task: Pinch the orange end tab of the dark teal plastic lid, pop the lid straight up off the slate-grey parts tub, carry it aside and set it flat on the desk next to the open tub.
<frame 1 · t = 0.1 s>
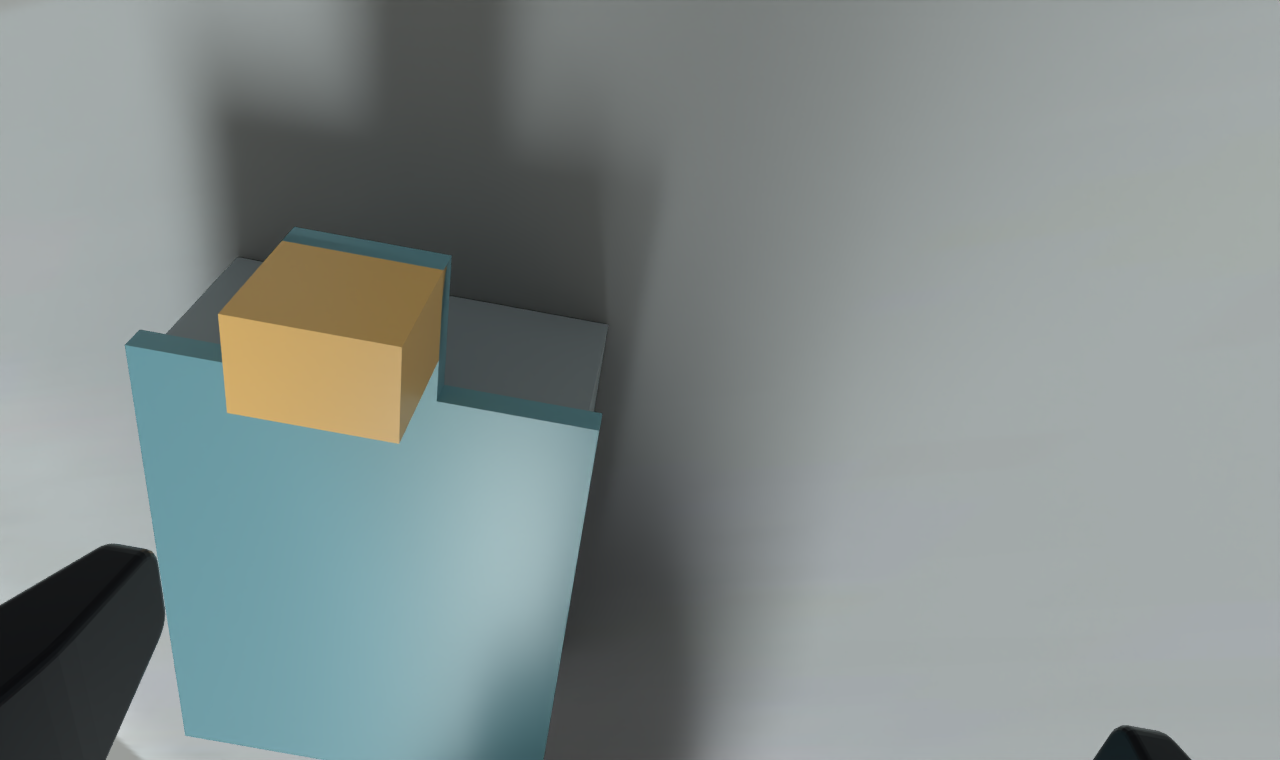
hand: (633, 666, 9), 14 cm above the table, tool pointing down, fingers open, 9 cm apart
tub: (415, 481, 27), on the table
lid: (369, 586, 24), point 4 cm above the table, touching tub
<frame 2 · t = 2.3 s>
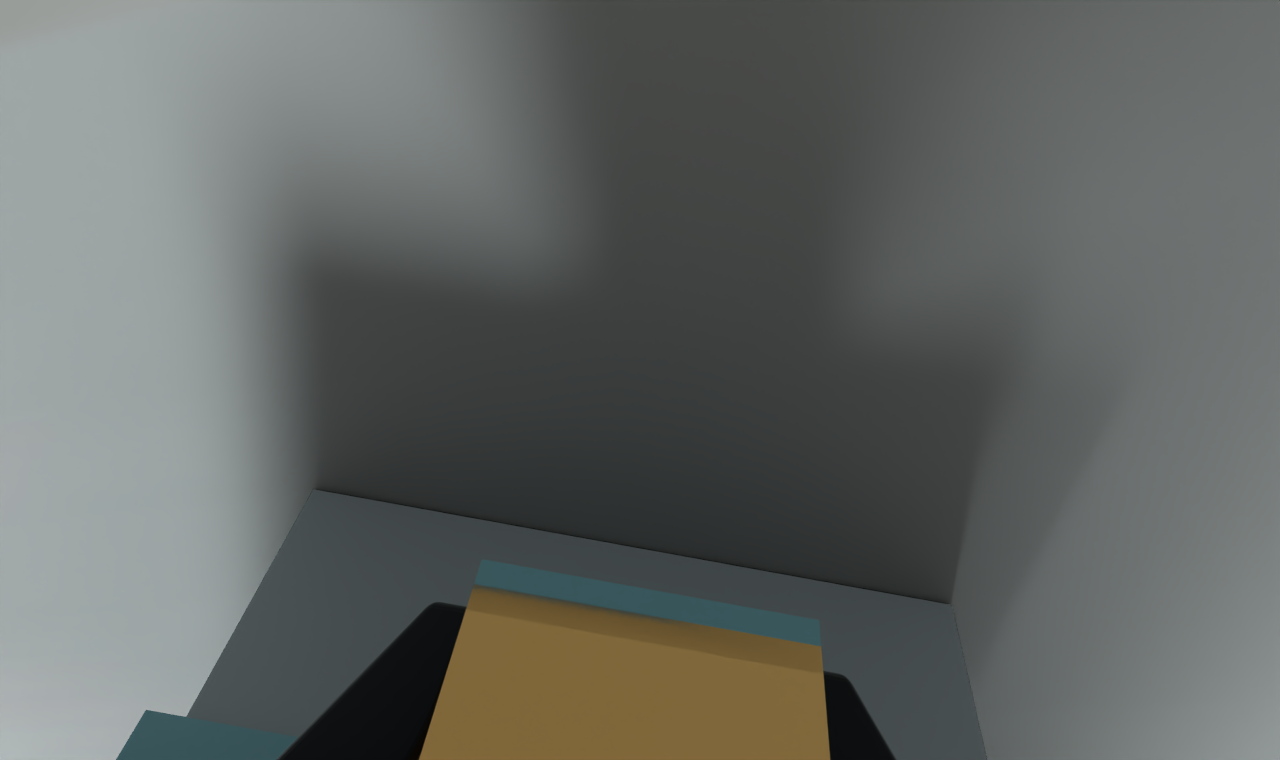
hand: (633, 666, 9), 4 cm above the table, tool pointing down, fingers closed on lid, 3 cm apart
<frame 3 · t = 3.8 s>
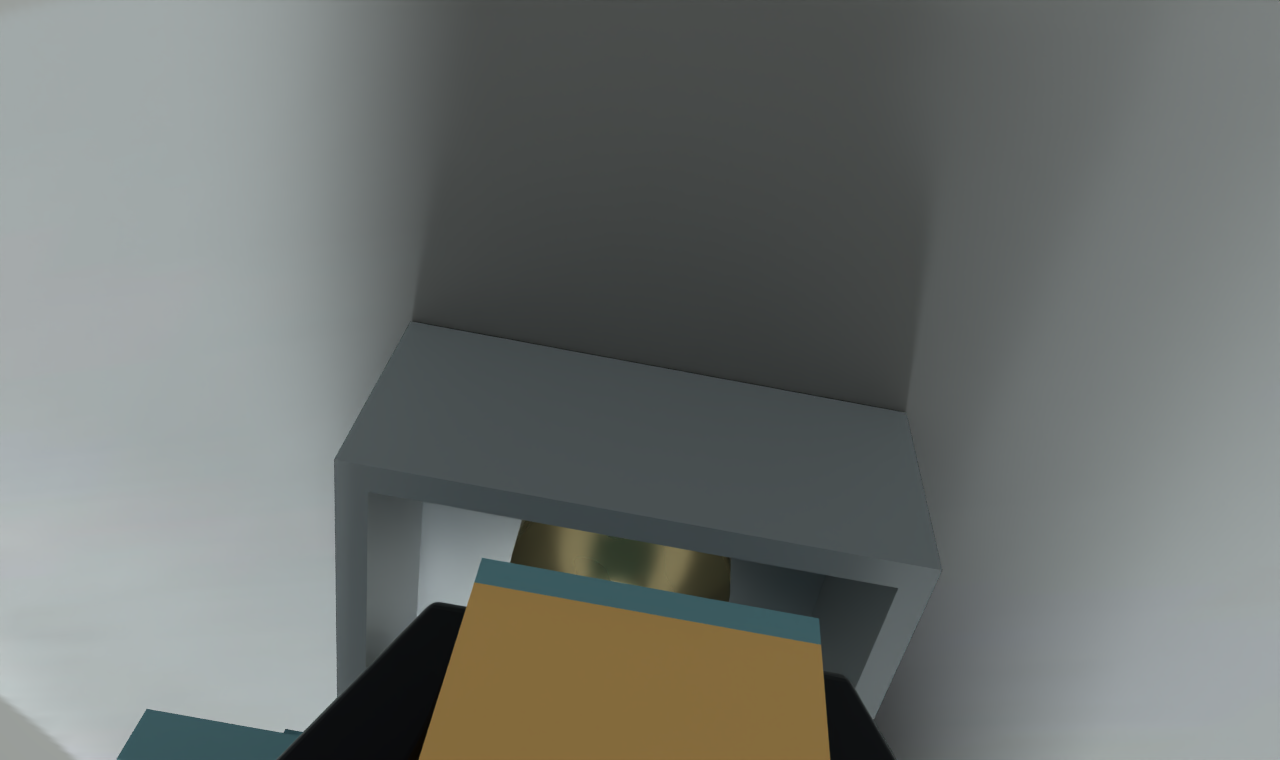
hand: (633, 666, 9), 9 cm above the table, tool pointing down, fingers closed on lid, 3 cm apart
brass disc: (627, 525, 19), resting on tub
tub: (611, 600, 21), on the table
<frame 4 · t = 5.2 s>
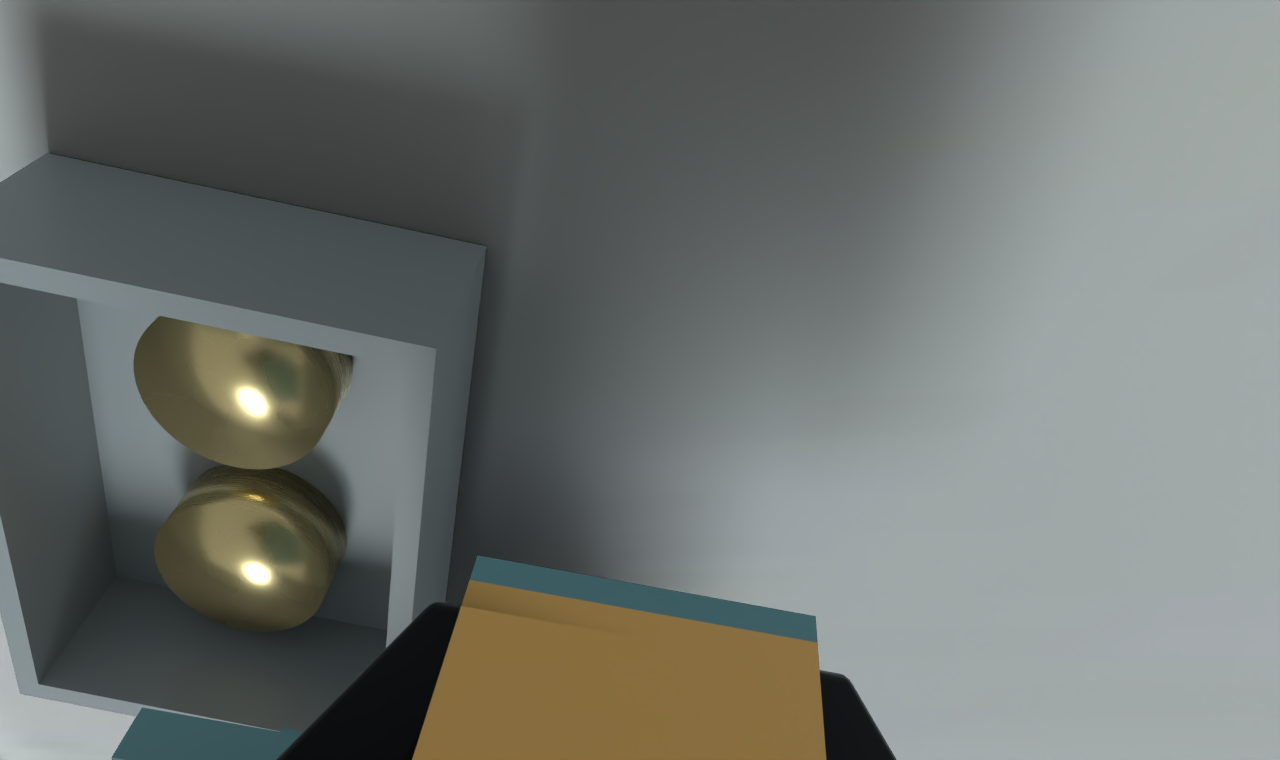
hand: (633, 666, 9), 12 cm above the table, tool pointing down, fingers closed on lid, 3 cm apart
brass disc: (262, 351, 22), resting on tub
tub: (272, 431, 24), on the table
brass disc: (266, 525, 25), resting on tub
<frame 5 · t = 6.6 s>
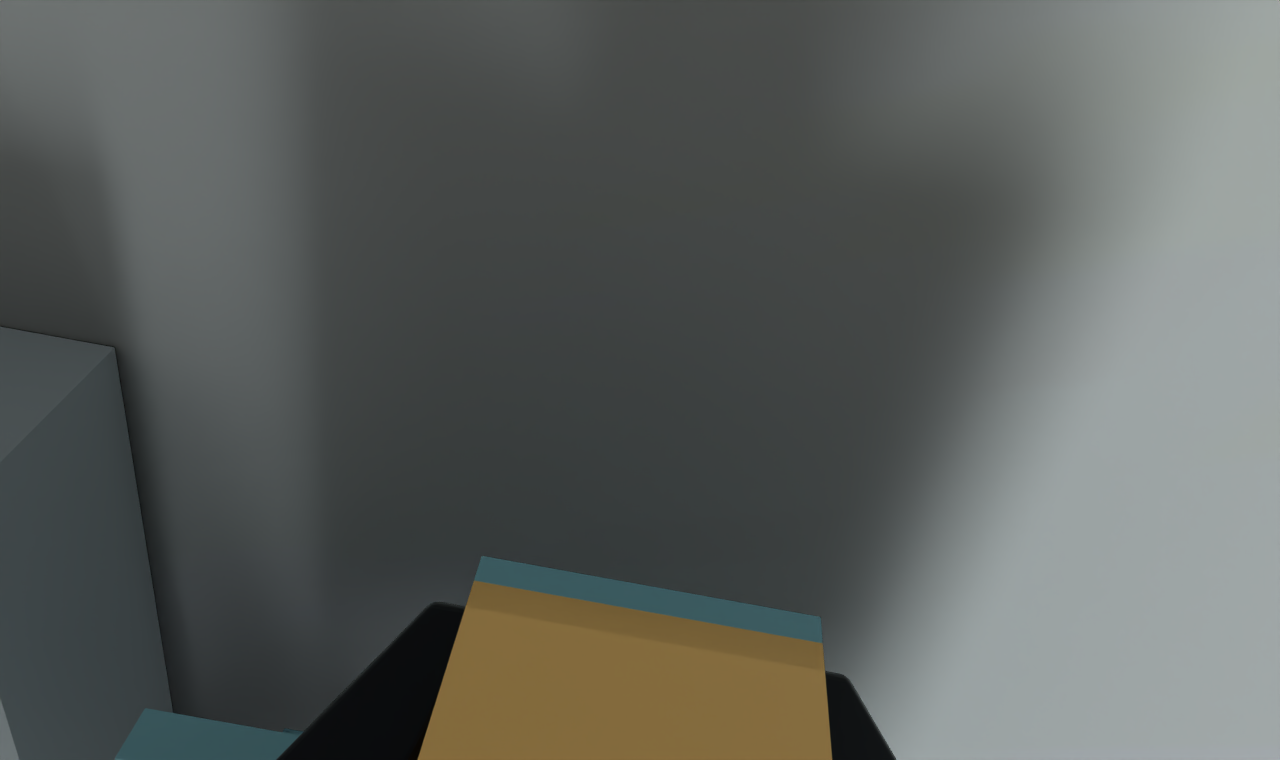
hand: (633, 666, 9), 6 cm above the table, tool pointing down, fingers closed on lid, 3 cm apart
when the fingers open (2 cm above the table, at t = 7.9 s): lid drops 2 cm, point 1 cm above the table.
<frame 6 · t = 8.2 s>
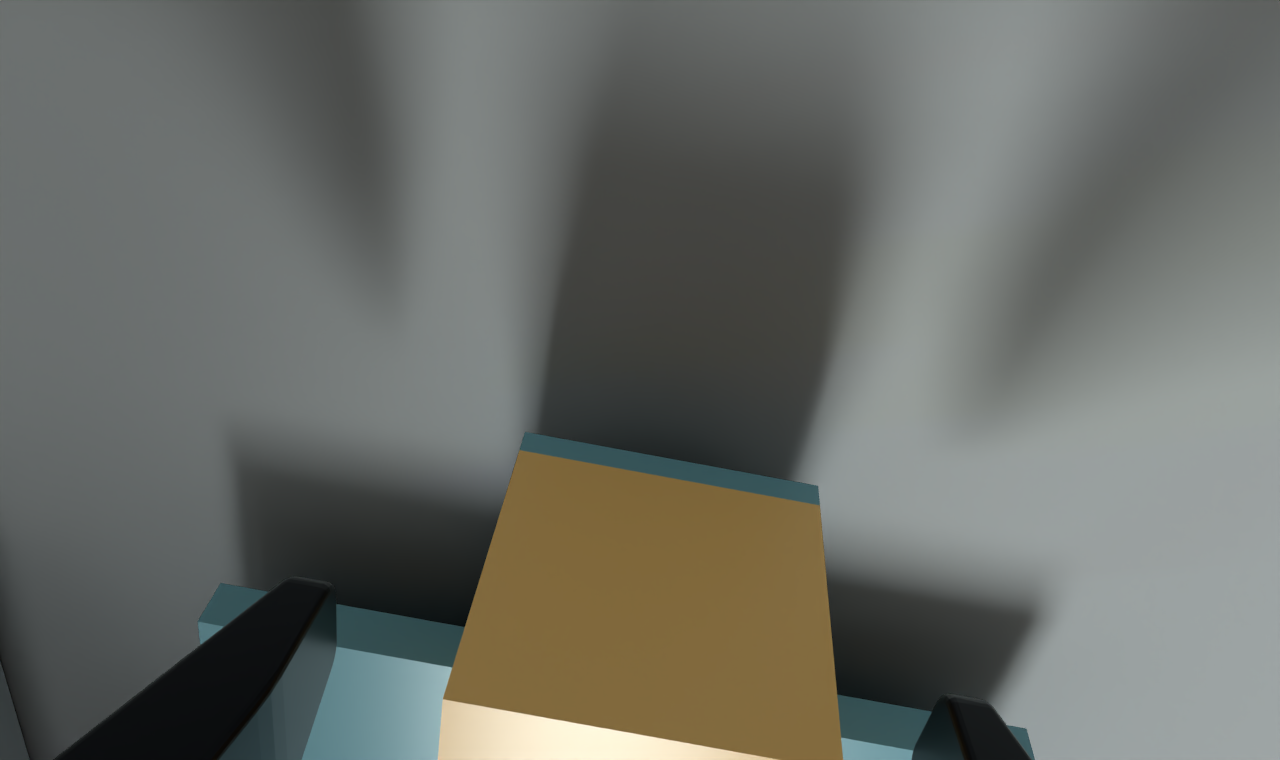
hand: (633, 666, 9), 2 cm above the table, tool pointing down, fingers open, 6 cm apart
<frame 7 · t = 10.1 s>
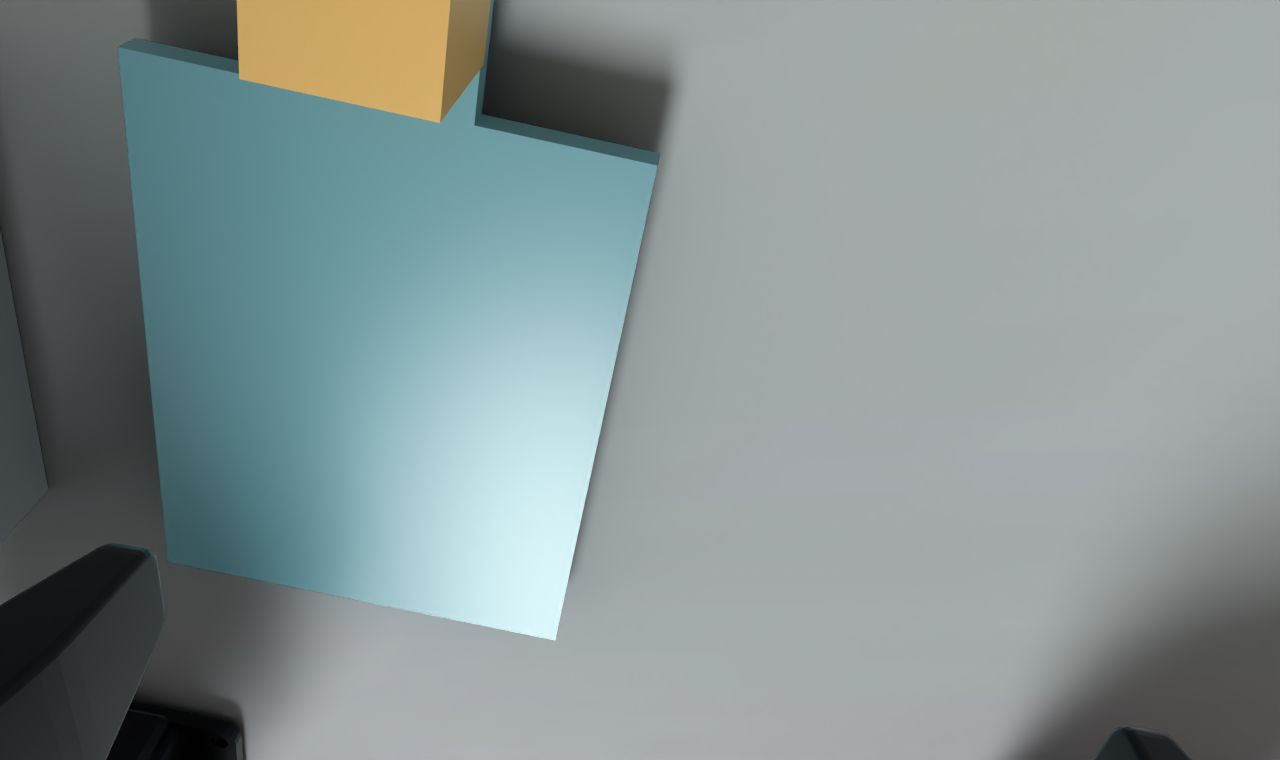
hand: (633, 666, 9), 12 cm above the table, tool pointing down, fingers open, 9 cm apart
lid: (382, 379, 22), point 1 cm above the table
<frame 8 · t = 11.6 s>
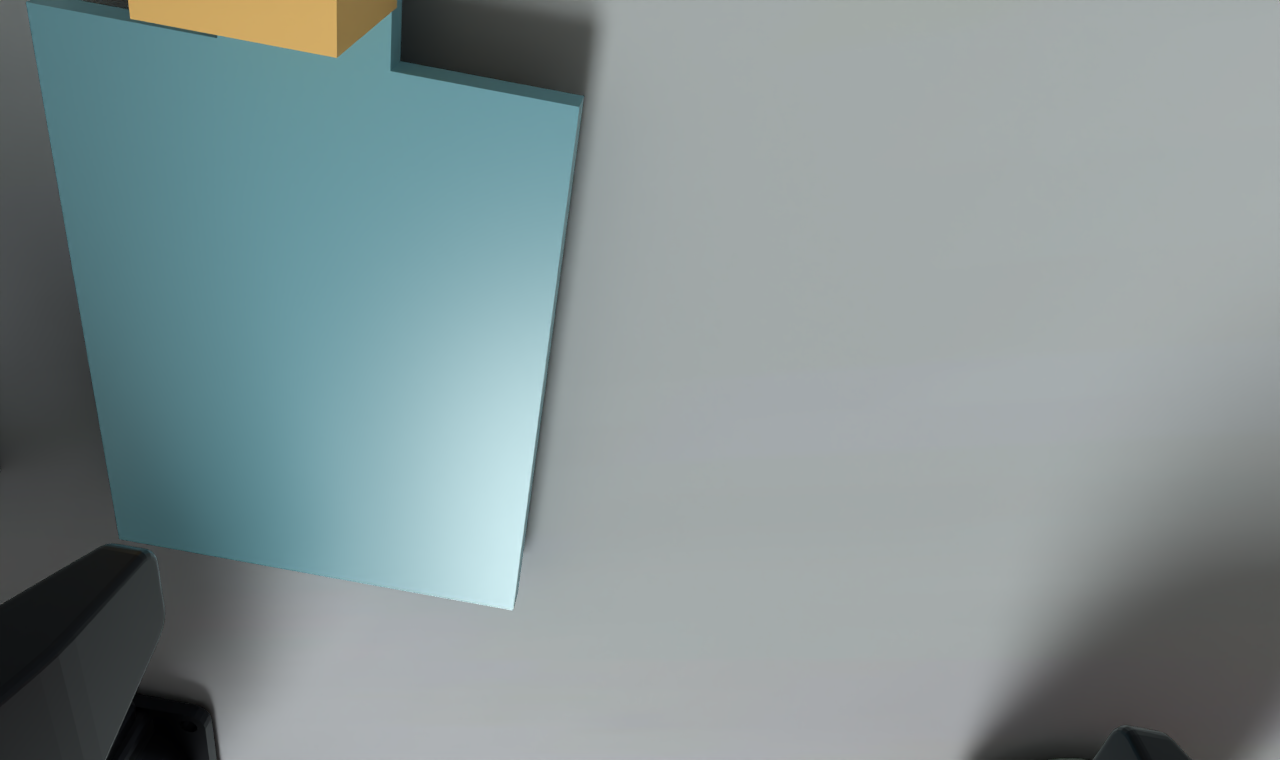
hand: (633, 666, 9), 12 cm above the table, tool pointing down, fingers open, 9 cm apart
lid: (321, 343, 21), point 1 cm above the table
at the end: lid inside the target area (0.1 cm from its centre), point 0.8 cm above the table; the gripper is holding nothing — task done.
